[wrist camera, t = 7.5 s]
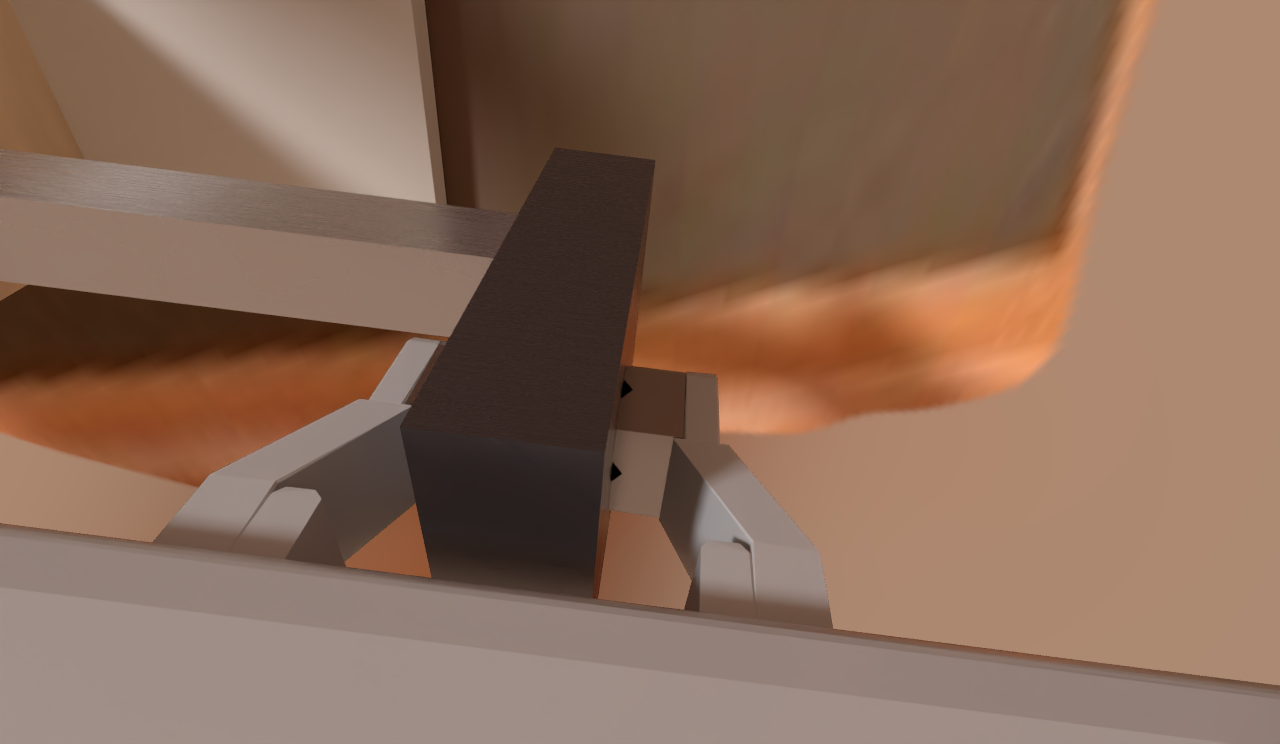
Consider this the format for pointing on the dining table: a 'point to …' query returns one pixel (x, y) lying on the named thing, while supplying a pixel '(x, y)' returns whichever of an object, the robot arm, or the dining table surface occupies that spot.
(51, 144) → the bearing block
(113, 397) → the dining table surface
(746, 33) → the dining table surface
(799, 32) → the dining table surface
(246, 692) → the robot arm
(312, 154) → the base board
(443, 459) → the shaft
